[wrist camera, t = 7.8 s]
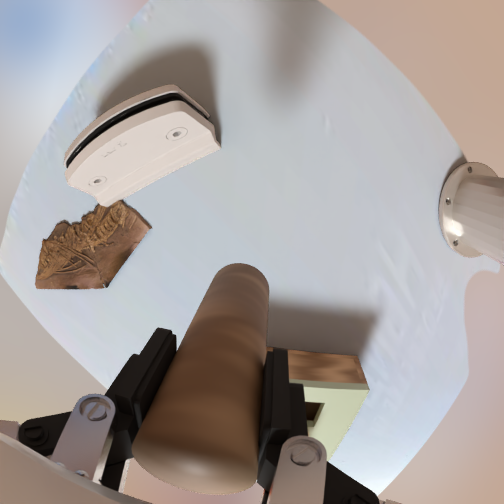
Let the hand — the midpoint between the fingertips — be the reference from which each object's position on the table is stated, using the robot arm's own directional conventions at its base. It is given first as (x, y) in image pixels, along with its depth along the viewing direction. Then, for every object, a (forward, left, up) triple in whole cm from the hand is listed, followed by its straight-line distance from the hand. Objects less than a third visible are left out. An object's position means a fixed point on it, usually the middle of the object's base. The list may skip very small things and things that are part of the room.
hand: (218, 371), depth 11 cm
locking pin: (0, 0, -8) cm, 8 cm away
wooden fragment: (+24, +7, -24) cm, 34 cm away
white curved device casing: (+14, -8, -24) cm, 29 cm away
